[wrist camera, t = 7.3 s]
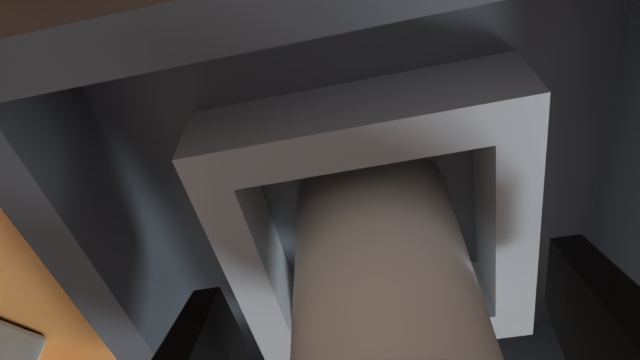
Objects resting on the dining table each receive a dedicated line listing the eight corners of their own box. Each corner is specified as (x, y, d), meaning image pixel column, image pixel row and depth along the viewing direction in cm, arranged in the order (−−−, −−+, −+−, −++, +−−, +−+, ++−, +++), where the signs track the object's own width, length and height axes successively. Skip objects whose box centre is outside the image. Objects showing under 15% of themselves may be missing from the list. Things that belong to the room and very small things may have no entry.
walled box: (693, -164, 9) (858, -150, 6) (599, 315, 17) (653, 413, 15) (0, -5, 11) (-110, 63, 8) (213, 365, 19) (195, 461, 16)
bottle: (443, 129, 12) (564, 445, 6) (449, 246, 15) (541, 557, 9) (282, 155, 13) (251, 473, 7) (313, 265, 15) (311, 572, 9)
